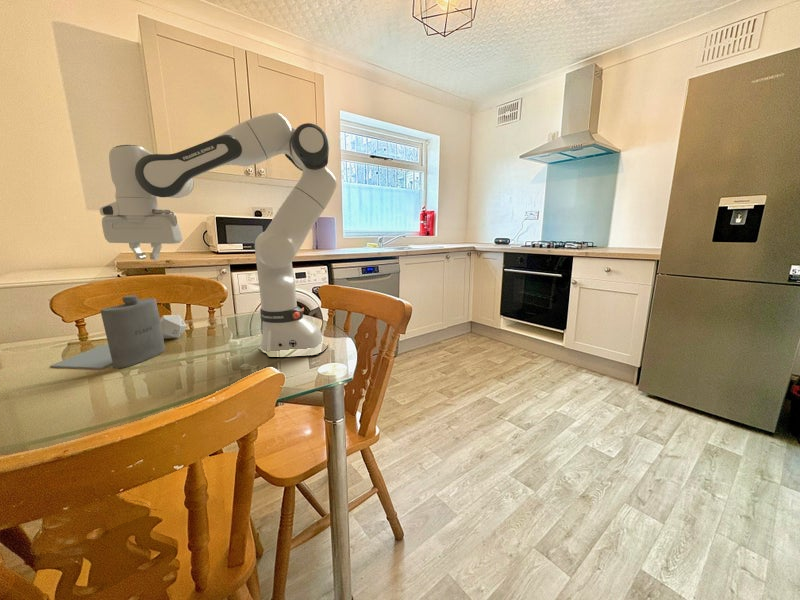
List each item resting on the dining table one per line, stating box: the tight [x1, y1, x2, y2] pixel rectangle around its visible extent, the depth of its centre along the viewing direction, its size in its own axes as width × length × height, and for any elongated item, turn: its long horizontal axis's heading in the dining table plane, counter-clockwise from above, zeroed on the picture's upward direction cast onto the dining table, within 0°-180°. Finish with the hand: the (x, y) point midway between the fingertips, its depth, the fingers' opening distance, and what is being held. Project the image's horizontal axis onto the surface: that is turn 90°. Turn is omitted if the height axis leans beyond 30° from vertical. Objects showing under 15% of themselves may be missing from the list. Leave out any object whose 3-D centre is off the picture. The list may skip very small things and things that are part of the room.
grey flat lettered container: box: [100, 294, 166, 369], centre depth 98 cm, size 15×6×20 cm, turn 167°
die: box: [159, 314, 188, 340], centre depth 117 cm, size 8×9×10 cm
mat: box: [49, 344, 113, 370], centre depth 101 cm, size 16×16×1 cm
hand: (148, 259), depth 92 cm, fingers open, 3 cm apart
